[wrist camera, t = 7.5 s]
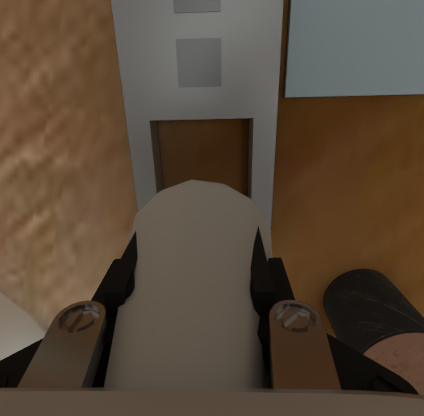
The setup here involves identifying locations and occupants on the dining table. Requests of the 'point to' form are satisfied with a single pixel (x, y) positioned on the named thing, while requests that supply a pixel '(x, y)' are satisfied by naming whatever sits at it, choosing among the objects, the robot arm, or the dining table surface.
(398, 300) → the travel mug
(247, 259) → the salt shaker
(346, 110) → the dining table surface
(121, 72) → the power strip
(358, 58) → the rubber mat
